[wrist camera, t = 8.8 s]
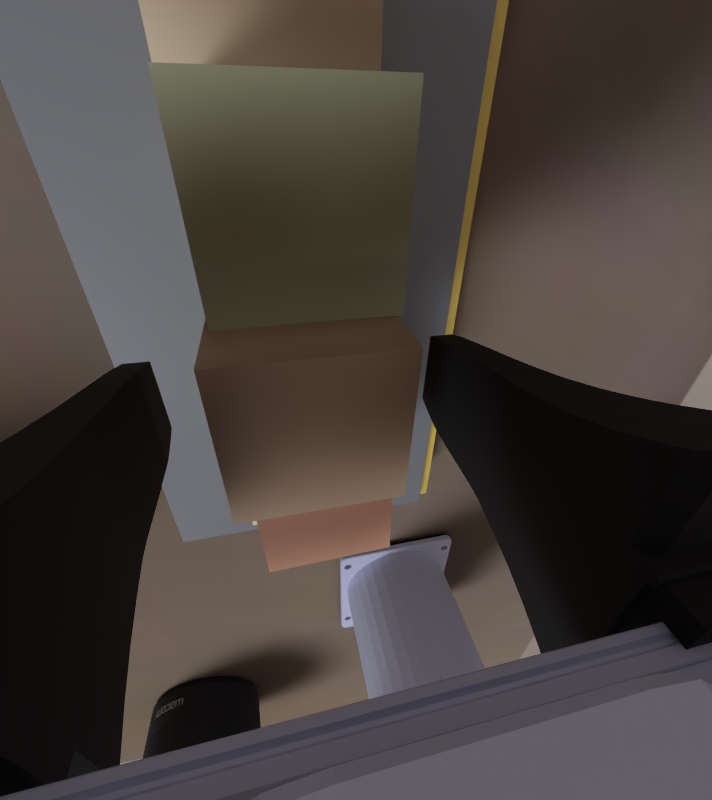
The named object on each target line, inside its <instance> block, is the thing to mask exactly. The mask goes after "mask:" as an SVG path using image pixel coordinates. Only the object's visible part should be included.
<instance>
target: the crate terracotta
mask: <svg viewBox="0 0 712 800" xmlns="http://www.w3.org/2000/svg"><path fill="white" fill-rule="evenodd" d="M391 514H392V498H389V499H383V500H377V501H371V502H365V503H359V504H353V505H348V506H342V507H336V508H330V509H324V510H318V511H312V512H306V513H300V514H294V515H288V516H282V517H276V518H270V519H264V520H258V521H257V525H258V528H259V532H260V536H261V540H262V544H263V548H264V552H265V555H266V559H267V563H268V567H269V571H270V572H274V571H278V570H283V569H288V568H293V567H297V566H302V565H307V564H312V563H316V562H321V561H326V560H331V559H335V558H340V557H345V556H350V555H354V554H359V553H364V552H369V551H373V550H378V549H383V548H387V547H390V532H391Z"/></svg>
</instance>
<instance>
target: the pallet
mask: <svg viewBox="0 0 712 800" xmlns="http://www.w3.org/2000/svg"><path fill="white" fill-rule="evenodd" d="M138 2H139V7H140V11H141V16H142V20H143V25H144V30H145V34H146V39H147V43H148V48H149V52H150V57H151V61H152V62H159V63H185V64H211V65H236V66H262V67H287V68H313V69H339V70H364V71H381V56H382V30H383V3H384V0H138ZM422 354H423V347H422V346H421V345H420V343H419V342H418V341H417V339H416V338H415V337H414V336H413V334H412V333H411V332H410V330H409V329H408V328H407V327H406V325H405V324H404V323H403V321H402V320H401V319H400V318H399V316H388V317H376V318H364V319H351V320H339V321H327V322H314V323H302V324H290V325H277V326H265V327H252V328H240V329H227V330H215V331H208V327H207V323H206V318H205V323H204V327H203V331H202V336H201V340H200V344H199V349H198V353H197V357H196V362H195V366H194V373H195V377H196V381H197V385H198V389H199V392H200V396H201V400H202V404H203V408H204V411H205V415H206V419H207V423H208V427H209V431H210V434H211V438H212V442H213V446H214V450H215V453H216V457H217V461H218V465H219V469H220V473H221V476H222V480H223V484H224V488H225V492H226V495H227V499H228V503H229V507H230V511H231V514H232V518H233V522H234V524H240V523H246V522H252V523H253V525H257V521H258V520H264V519H270V518H276V517H282V516H288V515H294V514H300V513H306V512H312V511H318V510H324V509H330V508H336V507H342V506H348V505H353V504H359V503H365V502H371V501H377V500H383V499H389V498H395V497H401V496H405V490H406V482H407V474H408V466H409V458H410V450H411V442H412V434H413V426H414V418H415V410H416V402H417V394H418V386H419V378H420V370H421V362H422Z"/></svg>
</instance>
